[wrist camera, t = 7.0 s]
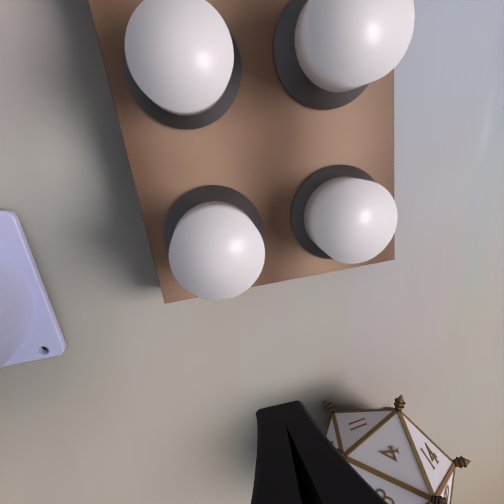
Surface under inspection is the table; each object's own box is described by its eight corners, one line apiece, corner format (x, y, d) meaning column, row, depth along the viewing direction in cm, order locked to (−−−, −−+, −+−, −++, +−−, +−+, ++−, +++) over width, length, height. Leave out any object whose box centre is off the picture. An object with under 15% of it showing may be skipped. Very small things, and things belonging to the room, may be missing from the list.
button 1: (147, 121, 13) (139, 117, 12) (124, 17, 12) (111, -5, 10) (236, 109, 14) (241, 103, 12) (221, 6, 12) (224, -16, 11)
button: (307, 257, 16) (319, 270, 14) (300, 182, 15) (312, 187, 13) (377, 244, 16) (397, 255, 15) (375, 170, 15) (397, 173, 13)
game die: (329, 365, 26) (422, 361, 17) (410, 443, 25) (549, 482, 16) (256, 469, 22) (324, 537, 13) (349, 563, 22) (486, 700, 13)
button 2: (182, 289, 14) (180, 308, 13) (164, 209, 13) (158, 218, 12) (262, 274, 15) (270, 290, 13) (251, 194, 14) (258, 201, 12)
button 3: (299, 98, 13) (314, 90, 11) (289, -13, 12) (304, -40, 10) (386, 85, 13) (413, 77, 11) (385, -23, 12) (415, -51, 10)
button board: (168, 287, 18) (164, 306, 16) (53, -184, 12) (20, -259, 10) (375, 248, 19) (398, 261, 17) (365, -200, 13) (398, -271, 11)
